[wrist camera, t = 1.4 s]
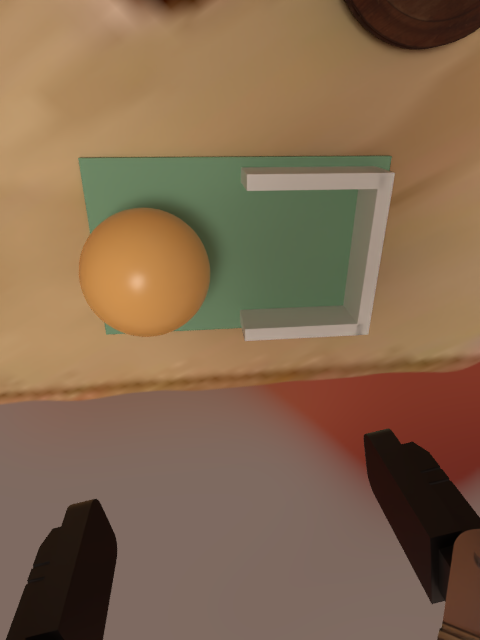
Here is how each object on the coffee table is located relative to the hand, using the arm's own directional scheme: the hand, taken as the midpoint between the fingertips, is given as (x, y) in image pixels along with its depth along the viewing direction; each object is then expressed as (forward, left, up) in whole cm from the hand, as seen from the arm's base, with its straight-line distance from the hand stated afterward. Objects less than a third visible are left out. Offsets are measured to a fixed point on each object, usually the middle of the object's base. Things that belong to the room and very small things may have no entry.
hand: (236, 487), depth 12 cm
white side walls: (+9, -2, -28) cm, 30 cm away
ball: (-5, -2, -23) cm, 24 cm away
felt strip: (+3, -2, -28) cm, 29 cm away
